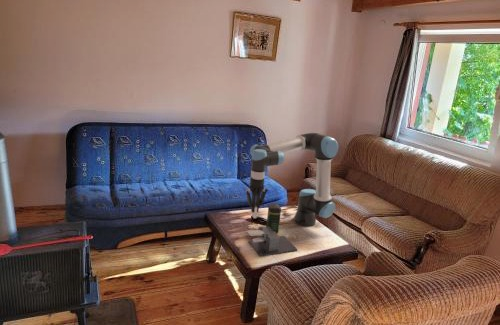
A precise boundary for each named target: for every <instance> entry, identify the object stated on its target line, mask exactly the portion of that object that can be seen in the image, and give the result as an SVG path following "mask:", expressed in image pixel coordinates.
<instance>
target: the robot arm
mask: <svg viewBox="0 0 500 325" xmlns="http://www.w3.org/2000/svg"><path fill="white" fill-rule="evenodd" d="M297 150H298V151H304V150H305V151H306V150H307V151H311V152H312V153H314V154H313V155H314V157H313V158H315V159H316V173H315V174H316V177H315V178H316V179H315V181H316V182H315V184H316V185H315V189H311V188H304V189H301V190H300V192H299V195H298V201H297V202H298V203H297V210H296V212H295V215H294V216H293V222H294V223H295V224H297V225H299V226H302V227H303V226H304V227H313V226H315V225H316V222H317V219H316V216H319V217H321V218H323V219H327V218H329V217H331V216H332V215H333V213H334V212H335V210H336V204H335V203H334V202H333V201H332V200H333V197H332V195H331V194H330V193H331V192H330V191H331V190H330V189H331V188H330V187H331V170H332V169H331V165H332V161H333V159H334V157H336V155H337V154H338V152H339V143H338V141H337V140H336V139H335V138H334V137H331V136H328V135H324V134H320V133H317V132H308V133H307V132H306V133H301V134H298V135H297V136H295V137H293V138H287V139H284V140H279V141H276V142H271V143H268V144H263V145H262V144H261V145H259V144H253V145H252V146H251V147H250V149H249V153H250V155H251V169H250V179H249V180H250V183H249V187H248V188H247V189H245V190H244V193H245V194H246V197H247V204H248V206H249V207H250V211H251V214H252V215H251V216H252V218H253V219H257V216H258V212H259V208H260V206H263V204H264V200H265V197H266V195H267V193H268V189H267V187H265V186H264V185H265V177H266V176H265V174H266V167H271V166H272V167H273V166H278V165H279V166H280V165H282V164H283V163H284V161H285V155H284V154H285V153H289V152H293V151H297Z"/></svg>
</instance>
